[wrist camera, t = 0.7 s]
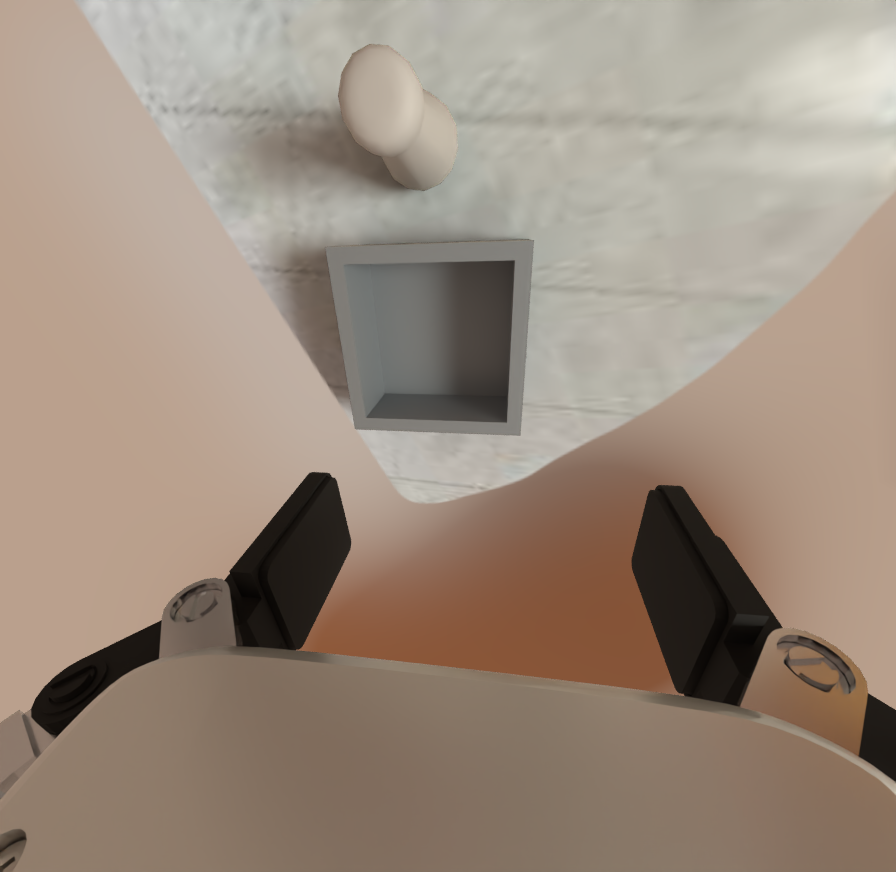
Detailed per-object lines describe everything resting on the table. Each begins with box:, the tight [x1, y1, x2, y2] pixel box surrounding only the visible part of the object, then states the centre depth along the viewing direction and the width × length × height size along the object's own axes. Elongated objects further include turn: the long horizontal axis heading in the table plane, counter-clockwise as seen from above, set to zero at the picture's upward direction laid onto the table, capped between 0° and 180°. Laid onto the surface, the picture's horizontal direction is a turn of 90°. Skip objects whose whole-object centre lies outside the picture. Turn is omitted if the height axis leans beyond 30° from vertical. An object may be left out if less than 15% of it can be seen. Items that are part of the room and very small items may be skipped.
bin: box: [325, 239, 534, 436], centre depth 33 cm, size 15×15×7 cm
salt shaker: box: [338, 44, 458, 191], centre depth 24 cm, size 6×6×13 cm
